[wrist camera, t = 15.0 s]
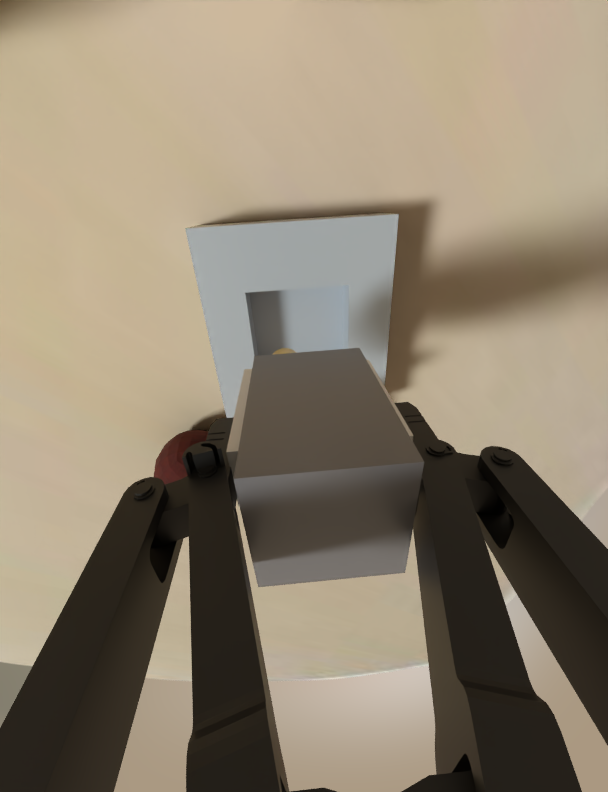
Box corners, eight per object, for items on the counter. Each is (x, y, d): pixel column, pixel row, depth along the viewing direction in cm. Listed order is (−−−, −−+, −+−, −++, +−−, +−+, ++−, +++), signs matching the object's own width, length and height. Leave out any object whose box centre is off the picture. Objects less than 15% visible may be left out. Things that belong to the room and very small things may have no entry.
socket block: (197, 225, 22) (185, 228, 19) (383, 212, 23) (398, 214, 20) (234, 406, 30) (229, 429, 27) (372, 395, 30) (382, 416, 27)
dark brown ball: (196, 401, 30) (175, 451, 24) (260, 446, 33) (256, 500, 27) (151, 447, 32) (121, 504, 26) (215, 485, 35) (201, 543, 29)
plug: (255, 346, 16) (233, 479, 8) (354, 338, 16) (424, 461, 8) (267, 426, 19) (258, 587, 11) (352, 419, 19) (405, 572, 11)
